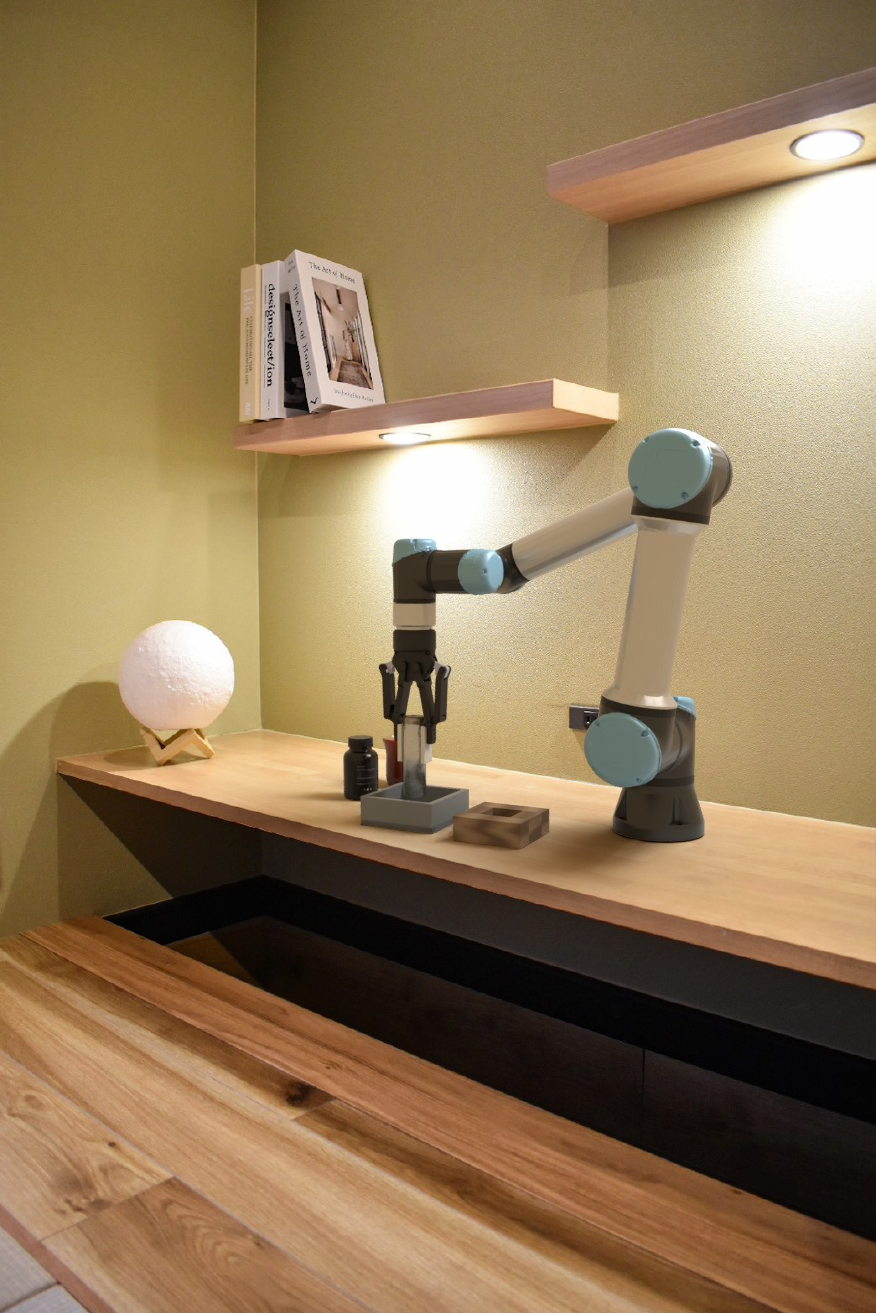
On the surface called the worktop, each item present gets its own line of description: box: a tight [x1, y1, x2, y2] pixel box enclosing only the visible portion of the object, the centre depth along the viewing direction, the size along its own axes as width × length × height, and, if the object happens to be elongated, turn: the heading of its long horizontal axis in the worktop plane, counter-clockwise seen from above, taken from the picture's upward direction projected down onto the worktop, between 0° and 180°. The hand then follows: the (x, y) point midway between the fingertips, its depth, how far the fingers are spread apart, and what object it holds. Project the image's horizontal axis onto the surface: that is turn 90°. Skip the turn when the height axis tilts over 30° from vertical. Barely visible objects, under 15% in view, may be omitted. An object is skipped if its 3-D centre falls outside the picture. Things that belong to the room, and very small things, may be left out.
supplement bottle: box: [342, 734, 380, 802], centre depth 198 cm, size 7×7×12 cm
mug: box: [381, 734, 403, 787], centre depth 210 cm, size 12×9×10 cm
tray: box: [360, 782, 470, 835], centre depth 179 cm, size 14×14×5 cm
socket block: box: [452, 801, 550, 850], centre depth 168 cm, size 12×12×4 cm
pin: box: [403, 714, 427, 798], centre depth 178 cm, size 4×4×14 cm
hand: (414, 760), depth 178 cm, fingers closed on pin, 4 cm apart
